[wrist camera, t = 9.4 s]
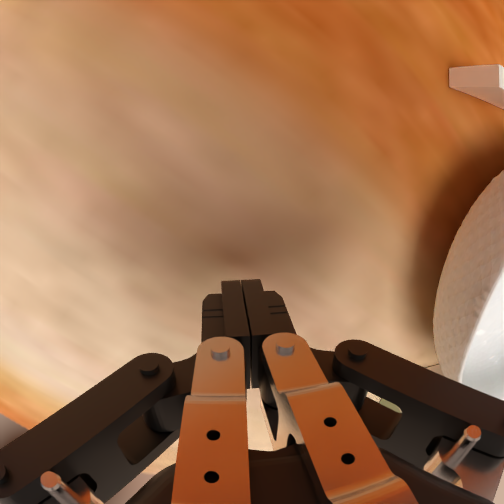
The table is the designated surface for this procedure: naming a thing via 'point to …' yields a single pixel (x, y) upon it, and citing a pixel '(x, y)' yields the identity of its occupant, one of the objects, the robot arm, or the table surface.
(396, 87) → the table surface
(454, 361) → the cereal bowl
